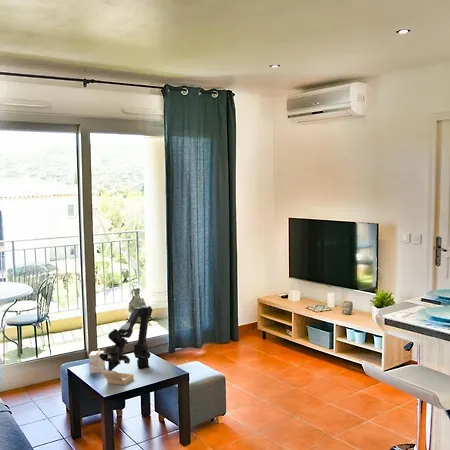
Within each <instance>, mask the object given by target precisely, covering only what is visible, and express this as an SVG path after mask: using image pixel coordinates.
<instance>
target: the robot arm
mask: <svg viewBox="0 0 450 450" xmlns="http://www.w3.org/2000/svg"><path fill="white" fill-rule="evenodd" d="M152 314H153V308H152V306H151V305H150V306H149V305H141V306H140V307H139V306H138V307H137V306H136V307H134V308H133V311H132V313H131V314H130V316H129V318H128V319H127V321H126V323H124V324H123V325H121V326H120V328H119V329H117V328H114V329H113V330H112V331H110V332H109V333H108V336H107V337H108V339H109V340H110V341H111V342H112V343H114V346H113V345H112V347H111V346H106V350H105V352H104V353H100V355H99V357H100V358H101V359H102V360H103V361H105V362H108V363H107V364H108V367H107V370H109V371H114V369H115V368H116V367H118V366H119V365H121V361H123V363H124V364H130V362H131V359H130V358H129V357H128V355H125V354H123V353H124V352H125V351H124V348H125V347H126V345H128V344H129V341H128V339H130V338H131V337H132V334H133V331H134V330H133V328H134V326H135V325H136V322H137V321H138V319H140V323H139V331H138V339H137V342H136V344H134V347H133V354H134V358H135V359H137V360H136V364H137V365H136V366H137V367H138V369H146V368H150V366H149V365H150V364H149V359H150V358H151V352H150V350H148V347H149V346H148V344H147V335H148V334H147V333H148V327H149V326H148V324H149V320H150V319H151V318H152ZM126 338H127V339H126Z"/></svg>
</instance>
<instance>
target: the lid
mask: <svg viewBox="0 0 450 450" xmlns="http://www.w3.org/2000/svg"><path fill="white" fill-rule="evenodd" d="M99 371H100V372H101V374H102V376H103V377H104V378H105V380H107V379H110V380H118V381H123V379H122V378H121V377H120V376H119V374H118V373H117V372H118V371H116V370H112V371H109V370H108V369H104V370H101V369H99Z"/></svg>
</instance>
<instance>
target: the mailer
mask: <svg viewBox="0 0 450 450" xmlns="http://www.w3.org/2000/svg"><path fill="white" fill-rule="evenodd" d="M116 372H117V373H118V374H119V376H120V377H121V378H122V379H123V381H118V380H110V379H106V382H107V383H106V384H111V385H118V386H125V385H127V384H128V383H130V382H132V381H133V380H134V379H135V378H134V374H133V373H125V372H118V371H116Z"/></svg>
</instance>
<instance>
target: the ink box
mask: <svg viewBox="0 0 450 450" xmlns="http://www.w3.org/2000/svg"><path fill="white" fill-rule="evenodd" d="M100 353H105V350H101V349H100V348H99V349H98V350H95V351H93V350H92V351H90V353H89V355H88V360H89V373H90V374H99V373H101V372H100V371H99V369H101V370H106V369H105V368H106V361H103V360H102V359H101V358H100V357H99V355H100ZM101 374H102V373H101Z"/></svg>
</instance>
